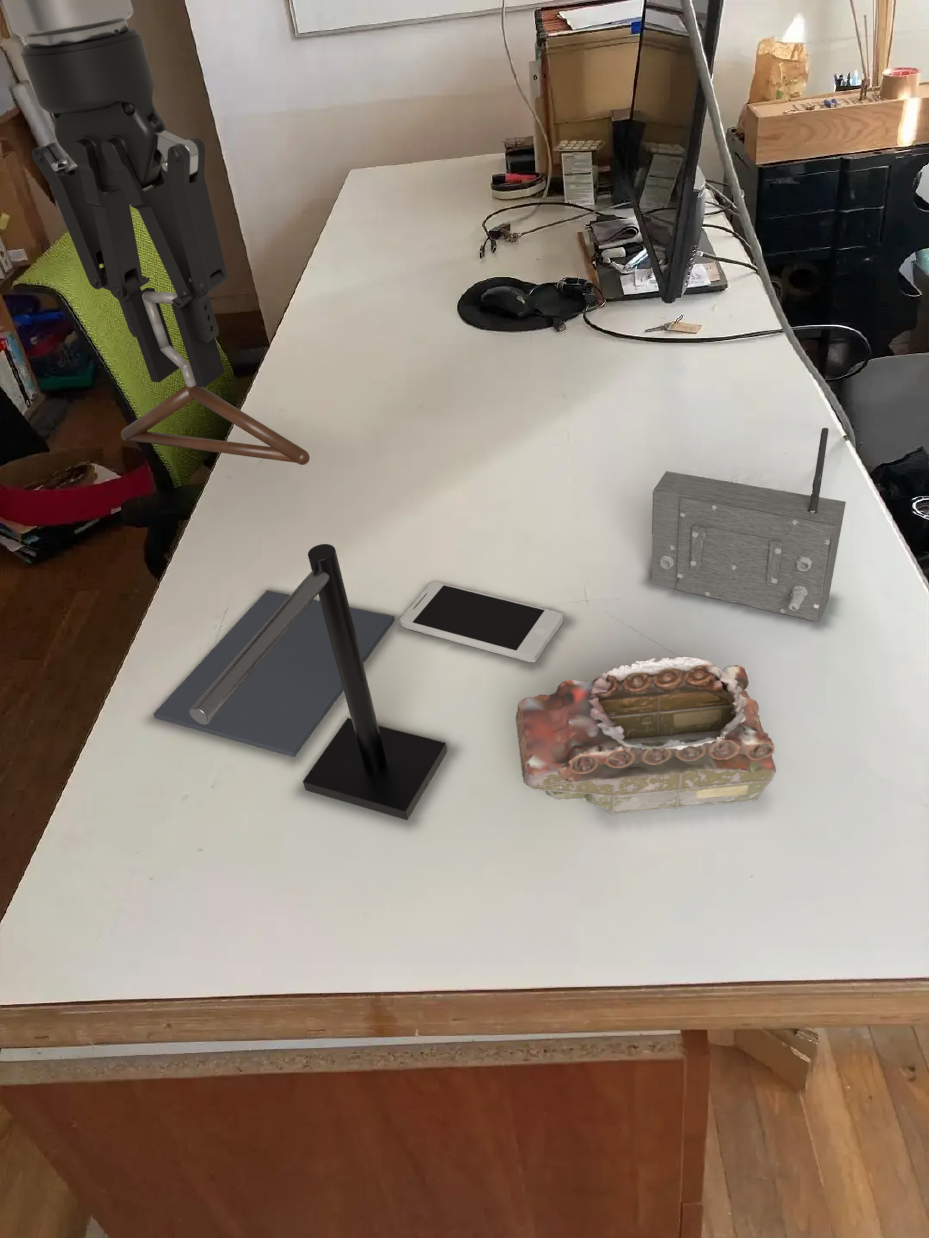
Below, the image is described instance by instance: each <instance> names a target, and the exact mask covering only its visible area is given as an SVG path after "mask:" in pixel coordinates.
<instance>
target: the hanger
mask: <svg viewBox="0 0 929 1238" xmlns="http://www.w3.org/2000/svg"><path fill="white" fill-rule="evenodd" d="M176 297H178V296H177V294H176V292H169V291H168V292H167V291H155V292H149V291H146V292H144V293H143V294H142V299H143V302H144V305H145V308H146V311H147V313H148V316H149V319H150V322H151V325H152V328H153V331H154V334H155V337H156V340H157V343H158V346H159V349H160V350H161V351H162V352H163V353H164V354H165V355H166V356H167V357H168V358H169V359H170V360H171V361H172V362H174V363H175V364H176V365H177V366H178V367H179V369H180V371H181V375H182V377H183V380H184V383H185V385H184V386H183V387H182V388H180V389H179V390H177V391H176V392H175V393H172V394H171V395H170V396H169V397H167V398H166V399H164V400H163V401H162V402H160V403H159V404H157V405H156V406H154V407H153V408H151V409H150V410H148V411H147V412H145V413H144V414H143V415H142V416H140V417H139V418H137V419H136V420H134V421H133V422H131V423H130V424H128V425H127V426H126V427H124V428H123V429H122V430H121V431H120V436H121V439H122V440H123V441H124V442H128V443H129V442H130V443H131V442H135V443H136V442H137V443H145V444H152V445H159V446H166V447H175V448H182V449H188V450H189V449H190V450H196V451H197V450H198V451H205V452H212V453H220V454H226V455H227V454H228V455H235V456H241V457H250V458H257V459H264V460H274V461H280V462H286V463H287V462H288V463H294V464H298V465H300V466H305V465H307V464H308V463H309V461H310V458H311V456H310V453H309V451H307V450H305V448H302V447H301V446H299V445H298V444H296V443H294V442H293V441H291V440H290V439H288V438H286V437H284V436H283V435H281V434H280V433H278V432H276V431H275V430H273V429H272V428H270V427H268V426H267V425H265V424H263V423H261V421H259V420H257V419H255V418H254V417H252V416H251V415H249V414H247V413H246V412H244V411H243V410H241V409H239V408H237V407H236V406H234V405H233V404H231V403H229V402H228V401H226V400H224V399H223V398H221V397H220V396H218V395H216V394H215V393H213V392H212V391H210V390H208V389H206V387H197V385H196V382H195V378H194V375H193V372H192V369H191V366H190V363H189V361H188V360H187V359H186V358H184V356H182V355H181V354H180V353H179V352H178V351H177V350H176V349H175V348H174V349H173V348H172V347H171V346H170V345H169V343H168V340H167V337H166V334H165V331H164V328H163V325H162V322H161V319H160V316H159V313H158V310H157V307H156V304H155V303H159V304H166V305H171V304H172V303H173V302H172V301H171V300H173V299H175V298H176ZM193 400H194V401H196V402H197V403H199V404H201V405H202V406H204V407H205V408H207V409H209V410H211V411H212V412H214V413H215V414H217V415H218V416H220V417H221V418H223V419H225V420H226V421H228V422H230V423H231V424H233V425H235V426H236V427H238V428H239V429H241V430H242V431H244V432H246V433H247V434H249V435H251V436H253V437H254V438H256V439H257V440H259V441H261V442H262V443H264V444H266V445H258V444H253V443H252V444H251V443H244V442H235V441H228V440H220V439H212V438H203V437H195V436H188V435H181V434H172V433H165V432H157V431H149V430H150V429H152V428H153V427H155V426H156V425H158V424H159V423H161V422H162V421H164V420H166V419H167V418H169V417H170V416H171V415H173V414H174V413H176V412H178V411H179V410H180V409H182V408H183V407H185V406H187V405H188V404H189V403H190V402H193Z"/></svg>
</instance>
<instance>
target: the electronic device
mask: <svg viewBox="0 0 929 1238" xmlns="http://www.w3.org/2000/svg"><path fill="white" fill-rule="evenodd" d="M828 436H829V428H828V427H822V428H821V432H820V438H819V445H818V452H817V458H816V465H815V472H814V477H813V481H812V484H811V485H812V491H811V494H804V493H799V492H798V493H797V492H791V491H786V490H780V489H775V488H774V489H773V488H769V487H768V488H767V487H762V486H756V485H751V484H745V483H739V482H733V481H727V480H721V479H715V478H710V477H704V476H697V475H691V474H686V473H681V472H680V473H679V472H674V471H668V470H665V472H664V473H663V475H662V476H661V478H660V480H659V481H658V482H657V483H656V485H655V486H654V488H653V489H652V512H651V513H652V514H651V516H652V517H651V535H652V536H651V537H652V538H651V539H652V540H651V579H650V580H651V582H650V584H653V585H657V586H663V587H667V588H671V589H675V590H677V591H681V592H686V593H691V594H695V595H699V596H703V597H707V598H712V599H716V600H722V601H725V602H730V603H734V604H739V605H743V606H747V607H751V608H756V609H761V610H764V611H770V612H774V613H778V614H783V615H787V616H792V617H796V618H801V619H805V620H809V621H813V622H821V620H822V617H823V615H824V613H825V610H826V607H827V605H828V602H829V598H830V594H831V588H832V582H833V576H834V572H835V567H836V566H835V565H836V559H837V555H838V554H837V553H838V549H839V543H840V537H841V533H842V527H843V521H844V515H845V511H846V504H847V501H845V500H838V499H833V498H827V497H820V494H821V488H822V481H823V474H824V473H823V472H824V465H825V458H826V451H827V446H828V445H827V444H828Z"/></svg>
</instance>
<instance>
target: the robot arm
mask: <svg viewBox="0 0 929 1238" xmlns="http://www.w3.org/2000/svg"><path fill="white" fill-rule="evenodd" d="M1 3H2V6H3V9H4V12H5V15H6V17H7V21H8V24H9V26H10V30H11V32H12V33H13V34H14V35H16V36H18V37H20V38H21V37H22V38H24V39H25V41H26V44H25V45H23V46H22V52H21V53H20V55H21V59H22V61H23V64H24V66H25V70H26V73H27V75H28V78H29V81H30V84H31V86H32V89H33V92H34V94H35V97H36V98H35V99H36V100H37V103H38V105H39V106H40V107H41V109H42V110H44V111H45V112H47V113H51V114H52V115H53V122H54V130H53V131H54V136H55V137H54V139H52V140H51V141H50V142H49V143H46V144H44V145H41V146H38V147H36V148H33V149H32V151H31V157H32V161H34V163H35V165H36V166H37V168H38V169H39V171H40V172H41V174H42V175H43V177H44V178H45V181H46V182H47V183H48V185H49V186H50V189H51V192H52V194H53V197H54V199H55V201H56V204H57V205H58V209H59V211H60V214H61V217H62V218H63V221H64V224H65V226H66V229H67V231H68V234H69V236H70V238H71V241H72V243H73V246H74V248H75V251H76V253H77V256H78V259H79V260H80V263H81V266H82V269H83V271H84V273H85V275H86V278H87V281H88V282H89V283H88V284H90V286H91V287H92V288H93V289H95V290H101V289H104V290H107V291H109V292H110V294H111V295H112V296H113V297H114V298H116V299H117V300H118V303H119V305H120V308H121V309H120V310H121V312H122V315H123V317H124V320H125V322H126V325H127V328H128V331H129V333H130V334H131V336H132V337H133V338H136V340H137V343H138V346H139V349H140V352H141V355H142V358H143V360H144V364H145V367H146V369H147V372H148V375H149V378H150V380H151V383H152V382H153V383H161V382H162V381H164V380H165V379H167V378H168V377H169V376H171V375H172V374H174V373H175V372H176V371H177V370H179V369H180V368H179V367H178V366H177V365H176V364H175V363H174V362H172V361H171V360H170V359H169V358H168V357H167V356H166V355H165V354H164V353H163V352H162V351H161V350H160V349H159V346H158V343H157V340H156V337H155V334H154V331H153V328H152V325H151V322H150V319H149V316H148V313H147V311H146V308H145V305H144V302H143V299H142V294H143V293H144V292H146V291H149V292H156V289H155V287H146V288H144V289H142V288H141V287H143V286H145V285H147V284H149V283H150V277H149V276H148V277H147V276H146V275H143V272H142V266H141V261H140V254H139V250H138V249H139V248H138V244H137V238H136V233H135V227H134V221H133V217H132V211H131V210H132V209H131V208H133V209H135V210H137V211H138V214H139V216H140V218H141V221H142V222H143V224H144V227H145V229H146V231H147V233H148V235H149V238H150V240H151V241H152V244H153V246H154V248H155V250H156V252H157V255H158V257H159V259H160V261H161V263H162V265H163V267H164V270H165V272H166V274H167V277H168V279H169V280H170V283H171V285H172V287H173V289H174V293H176V294H177V296H178V297H176V298H175V299H173V300H171V301H172V302H173V303H172V304H170V306H171V309H172V312H173V315H174V318H175V320H176V321H175V322H176V325H177V328H178V332H179V335H180V337H181V341H182V343H183V346H184V349H185V352H186V356H187V359H188V362H189V363H190V366H191V369H192V372H193V375H194V378H195V382H196V385H197V387H203V388H206V387H208V386H209V385H210V384H211V383H213V382H214V381H215V380H217V379H218V378H220V376H222V375H223V374H226V370H225V368H224V364H223V360H222V356H221V354H220V353H221V352H220V350H219V347H218V343H217V340H216V337H218V336H219V330H220V328H219V325H218V322H217V319H216V317H215V315H216V314H215V312H214V308H213V305H212V301H211V297H210V293H212V292H213V291H215V290H217V289H218V288H220V287H221V286H222V285H224V284H226V283H227V282H228V279H229V277H228V272H227V267H226V262H225V259H224V255H223V250H222V246H221V242H220V237H219V234H218V230H217V225H216V220H215V216H214V212H213V207H212V204H211V199H210V194H209V190H208V186H207V181H206V177H205V166H206V165H205V164H206V163H205V162H206V145H205V144H204V142H203V140H202V139H201V138H200V137H197V136H193V137H190V138H188V139H185V138H182V137H180V136H178V135H175V134H174V133H172V132H170V131H168V130H167V127H166V124H165V122H164V121H163V119H162V118H161V116H160V114H158V111H157V110H156V107H155V105H154V101H153V95H154V89H155V85H156V84H155V78H154V76H153V72H152V68H151V64H150V62H149V61H150V60H149V57H148V55H147V51H146V48H145V44H144V40H143V36H142V33H141V32H139V31H137V28H136V27H133V26H129V24H128V20H129V19H130V18H131V17H132V16H133V14H134V12H135V11H134V7H133V4H132V0H1ZM146 188H147V189H146ZM100 265H102V267H101V266H100ZM155 304H156V307H157V310H158V313H159V316H160V319H161V322H162V325H163V328H164V331H165V334H166V337H167V340H168V343H169V345H170V346H171V347H172V348H173V349H174V350H175V347H174V345H173V341H172V338H171V335H170V332H169V329H168V326H167V323H166V320H165V316H164V313H163V310H162V307H161V303H155Z"/></svg>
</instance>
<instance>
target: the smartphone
mask: <svg viewBox="0 0 929 1238" xmlns="http://www.w3.org/2000/svg"><path fill="white" fill-rule="evenodd" d="M563 622H564V614H563V613H562V612H559V611H557V610H552V609H548V608H544V607H541V606H536V605H532V604H528V603H524V602H520V601H515V600H512V599H507V598H505V597H504V598H503V597H500V596H495V595H491V594H487V593H483V592H479V591H475V590H470V589H466V588H463V587H458V586H454V585H452V584H446V583H442V582H438V581H432V582H430V583H429V584H428V586H427V587H426V588H425V589H424V590H423V591H422V592H421V593H420V594H419V596H418V597H417V598H416V600H414V602H413V603H412V604H411V605H410V606H409V607H408V609H407V610H406V611H405V612H404V613H403V614H402V616H401V617H400V618H399V625H400V626H401V627H402V628H405V629H408V630H410V631H415V632H418V633H422V634H426V635H430V636H433V637H436V638H440V639H444V640H447V641H451V642H455V643H459V644H461V645H466V646H469V647H473V648H476V649H480V650H483V651H487V652H492V653H495V654H499V655H503V656H506V657H510V658H513V659H517V660H520V661H524V662H527V663H536V662H537V661H538V660H539V658H540V657H541V655H542V654H543V652H544V650H545V649H546V648H547V646H548V645H549V643H550V642H551V640H552V638H553V637H554V636H555V635H556V633H557V631H558V630H559V628H560V627H561V626H562V624H563Z"/></svg>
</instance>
